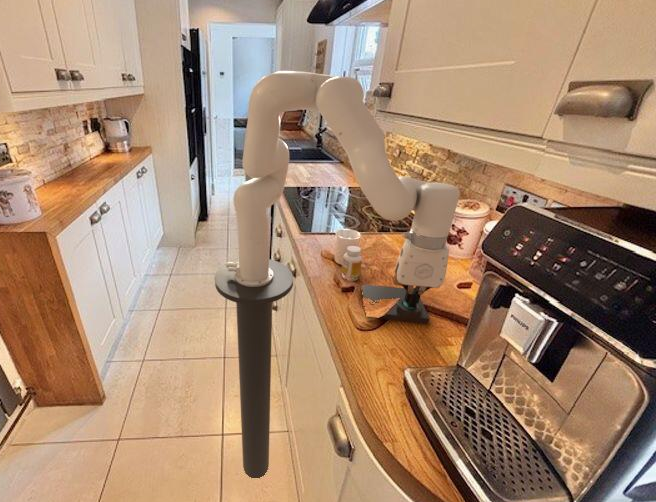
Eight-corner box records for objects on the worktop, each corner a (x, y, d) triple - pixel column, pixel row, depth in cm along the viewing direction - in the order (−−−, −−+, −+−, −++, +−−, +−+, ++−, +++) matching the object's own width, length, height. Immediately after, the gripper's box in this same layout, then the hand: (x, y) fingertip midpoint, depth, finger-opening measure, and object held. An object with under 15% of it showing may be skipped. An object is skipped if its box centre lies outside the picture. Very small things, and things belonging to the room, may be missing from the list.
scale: (365, 318, 83) (367, 307, 81) (360, 289, 94) (362, 279, 93) (428, 325, 80) (432, 314, 79) (414, 294, 92) (417, 283, 90)
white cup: (347, 253, 114) (351, 227, 109) (361, 264, 107) (366, 236, 103) (328, 257, 111) (331, 231, 107) (341, 268, 105) (345, 240, 100)
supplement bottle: (360, 274, 102) (364, 246, 97) (356, 283, 97) (361, 254, 93) (343, 270, 104) (346, 243, 99) (338, 278, 99) (342, 250, 95)
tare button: (403, 312, 82) (404, 307, 81) (400, 305, 84) (402, 300, 84) (415, 314, 81) (417, 308, 80) (413, 306, 84) (414, 301, 83)
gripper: (395, 243, 71) (381, 310, 80) (470, 248, 69) (447, 317, 77) (389, 230, 78) (377, 293, 86) (457, 234, 75) (437, 298, 84)
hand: (410, 304), depth 82 cm, fingers closed
